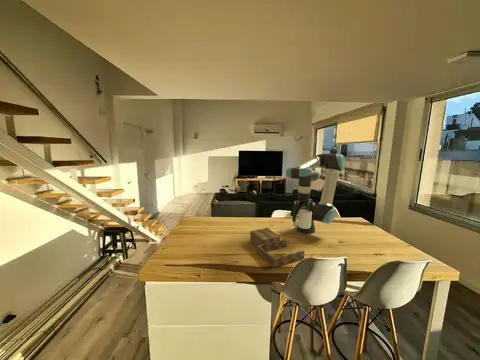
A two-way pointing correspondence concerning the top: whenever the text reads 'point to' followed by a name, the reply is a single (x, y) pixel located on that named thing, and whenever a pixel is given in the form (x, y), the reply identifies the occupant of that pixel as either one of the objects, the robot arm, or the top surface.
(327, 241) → the top surface
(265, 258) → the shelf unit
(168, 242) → the top surface
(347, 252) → the top surface
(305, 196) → the robot arm
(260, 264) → the top surface
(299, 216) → the mug
